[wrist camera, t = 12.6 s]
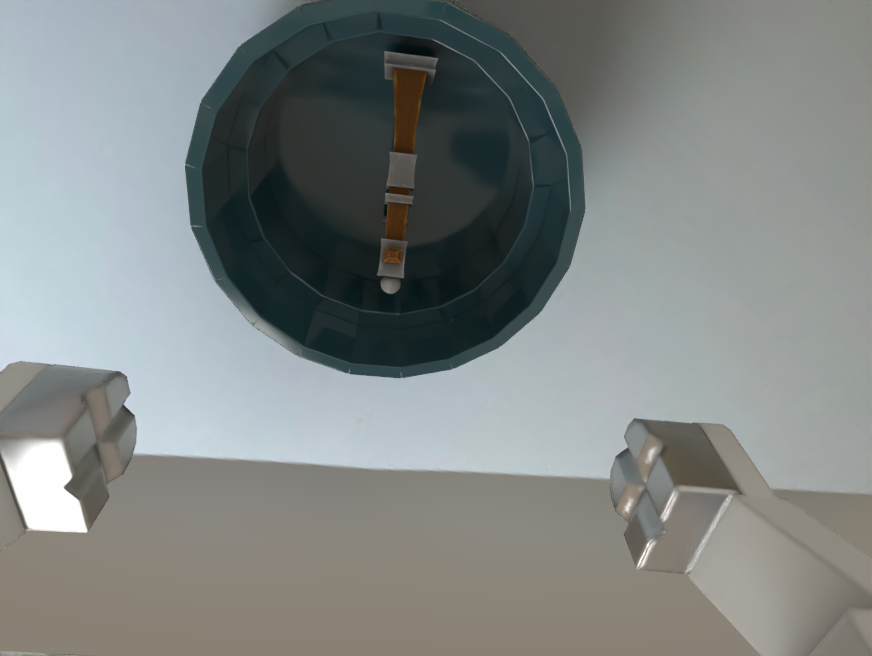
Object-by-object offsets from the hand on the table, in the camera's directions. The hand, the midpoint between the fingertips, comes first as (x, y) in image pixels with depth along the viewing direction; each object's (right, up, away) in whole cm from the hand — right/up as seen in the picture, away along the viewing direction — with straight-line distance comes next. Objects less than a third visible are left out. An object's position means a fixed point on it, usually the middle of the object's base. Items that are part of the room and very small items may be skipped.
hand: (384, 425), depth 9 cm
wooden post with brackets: (0, +8, +13) cm, 16 cm away
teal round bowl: (-1, +8, +14) cm, 16 cm away
